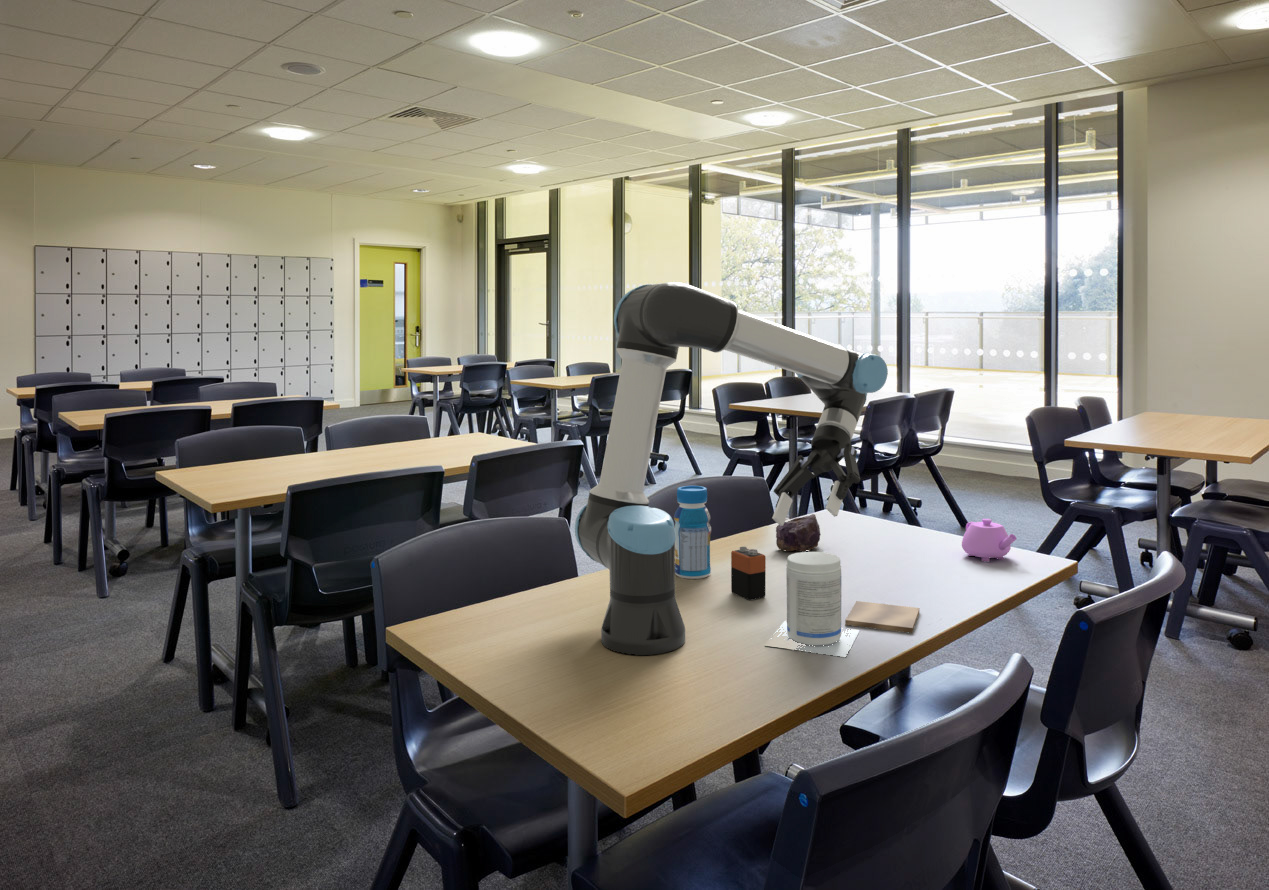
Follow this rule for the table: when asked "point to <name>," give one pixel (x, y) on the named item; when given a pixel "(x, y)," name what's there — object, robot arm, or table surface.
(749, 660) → the table surface
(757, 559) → the battery
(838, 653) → the label card
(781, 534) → the rock
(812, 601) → the supplement tub
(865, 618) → the walnut square
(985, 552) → the teapot
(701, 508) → the beverage bottle
